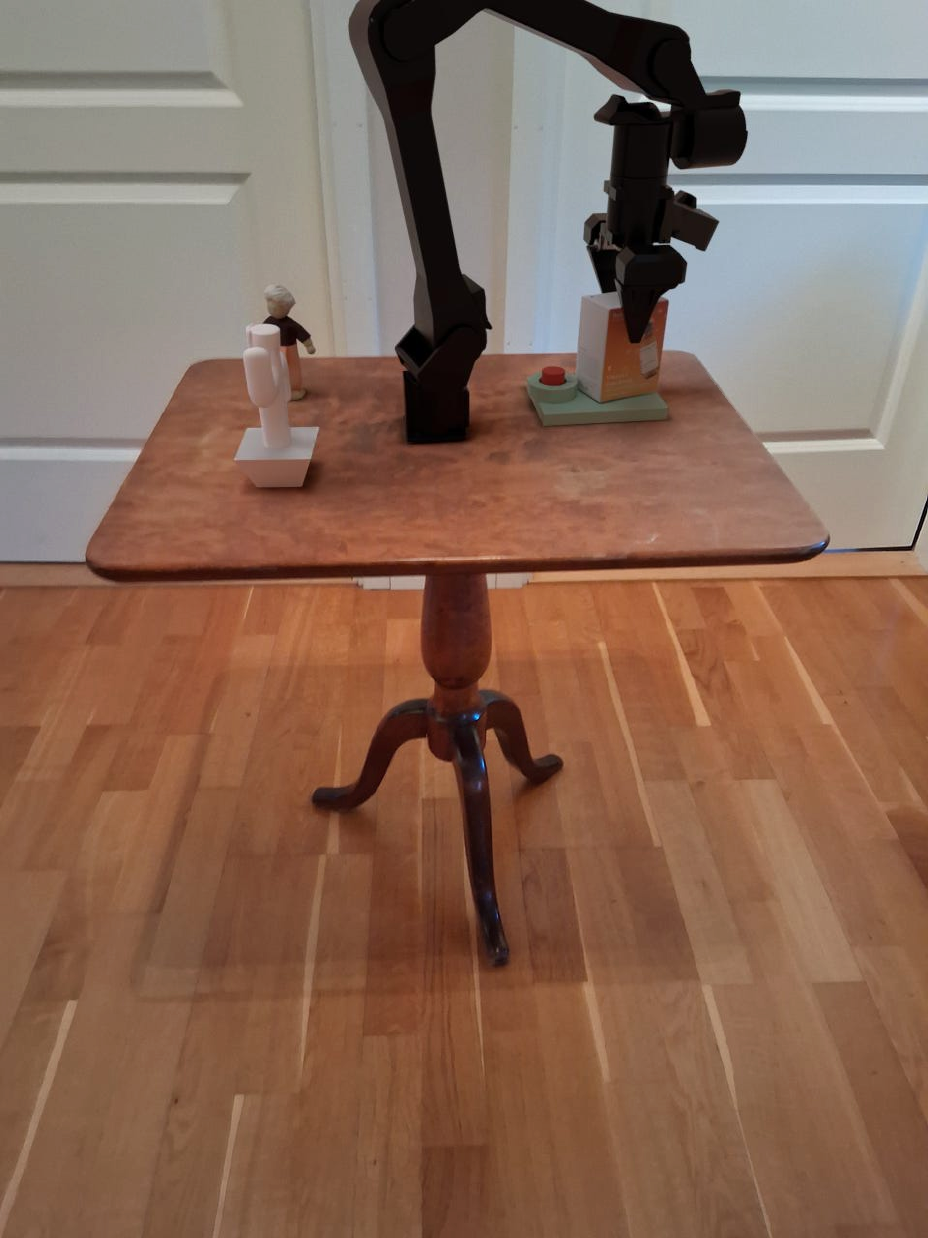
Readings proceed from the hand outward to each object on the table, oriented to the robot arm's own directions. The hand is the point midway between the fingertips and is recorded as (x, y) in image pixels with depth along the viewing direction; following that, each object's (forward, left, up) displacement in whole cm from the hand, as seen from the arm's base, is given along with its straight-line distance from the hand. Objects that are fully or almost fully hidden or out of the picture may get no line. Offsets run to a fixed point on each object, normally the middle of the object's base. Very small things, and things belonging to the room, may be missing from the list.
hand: (623, 328), depth 99 cm
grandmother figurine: (-38, +7, -9) cm, 39 cm away
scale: (-3, 0, -8) cm, 9 cm away
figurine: (-38, -14, -9) cm, 41 cm away
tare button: (-8, 0, -6) cm, 10 cm away
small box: (0, 0, -7) cm, 7 cm away
